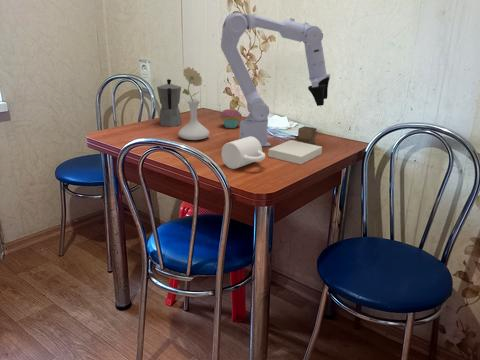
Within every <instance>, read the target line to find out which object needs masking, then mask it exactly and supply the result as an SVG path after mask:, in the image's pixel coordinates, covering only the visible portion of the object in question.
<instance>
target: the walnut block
mask: <svg viewBox="0 0 480 360" xmlns="http://www.w3.org/2000/svg"><path fill="white" fill-rule="evenodd" d="M297 131H298V133H297V141H298V142H303V143H307V144H312V145H316V136H317V128H315V127H311V126H305V125H304V126H302V127H300V128H298V130H297Z"/></svg>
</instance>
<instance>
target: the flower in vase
mask: <svg viewBox="0 0 480 360" xmlns="http://www.w3.org/2000/svg"><path fill="white" fill-rule="evenodd" d="M182 71H183V72H182V73H183V76H184V77H185V80H186V81H187V82H188V84H187V85H188V86H187V89H186V88H184V89H183V91H181V92H182V93H183V94H185V95H186V96H189V97H190V99H189V98H188V99H186V103H187V104H188V106H189V109H190V111H189V113H190V119H189V121H188V123H186V124H185V125H184V126H183V127H181V129H179V131H178V134H177V135H178V137H180V138H181V139H184V140H189V141H190V140H191V141H199V140H203V139H206V138H208V137H209V136H210V135H211V134H210V131H209V130H208V128H206V126H204V125H203V124H202V123H200V122H199V120H198V106H199V104H200V102H202V101H201V99H199V98H197V99H196V98H195V99H194V98H193V97H194V96H196V95H197V94H198V92H195V93H193V94H192V95H191V93H190V86H191V85H193V86H194V87H200V86H201V85H203V84H202V83H203V79H202V76H201V74H200V72H198V70H196V69H195V68H193V67H192V68H190V66H187V67H186V68H184V69H183V70H182ZM182 93H181V94H182Z"/></svg>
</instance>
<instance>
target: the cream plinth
mask: <svg viewBox="0 0 480 360" xmlns="http://www.w3.org/2000/svg"><path fill="white" fill-rule="evenodd" d="M322 151H323V146H320V145H316V144H315V145H312V144H307V143H303V142H298V140H293V139H290V140H288V141H285V142H282V143H280V144H278V145H275V146H272V147H271V148H268V152H267V153H268V155H267V156H268V157H270V158H273V159H277V160H281V161H286V162H288V163H293V164H297V165H300V166H301V165H303V164H305V163H307V162H309V161H310V160H312V159H314V158H317V157H319V156H320V155H322Z"/></svg>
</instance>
